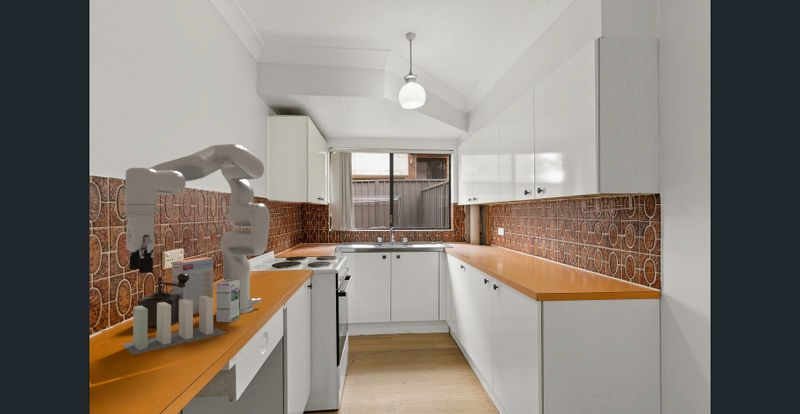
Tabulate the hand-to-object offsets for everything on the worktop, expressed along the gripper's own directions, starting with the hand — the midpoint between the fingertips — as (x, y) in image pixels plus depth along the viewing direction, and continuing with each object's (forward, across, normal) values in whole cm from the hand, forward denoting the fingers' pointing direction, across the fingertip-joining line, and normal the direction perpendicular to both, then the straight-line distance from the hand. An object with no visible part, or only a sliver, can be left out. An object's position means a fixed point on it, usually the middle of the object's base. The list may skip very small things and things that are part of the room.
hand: (141, 270), depth 110 cm
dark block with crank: (+22, -21, +13) cm, 33 cm away
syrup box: (+22, -9, +29) cm, 38 cm away
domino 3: (+22, 0, +12) cm, 25 cm away
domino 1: (+22, 0, 0) cm, 22 cm away
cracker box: (+22, -28, +24) cm, 43 cm away
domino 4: (+22, 0, +18) cm, 28 cm away
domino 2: (+22, 0, +6) cm, 22 cm away
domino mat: (+22, 0, +9) cm, 24 cm away
